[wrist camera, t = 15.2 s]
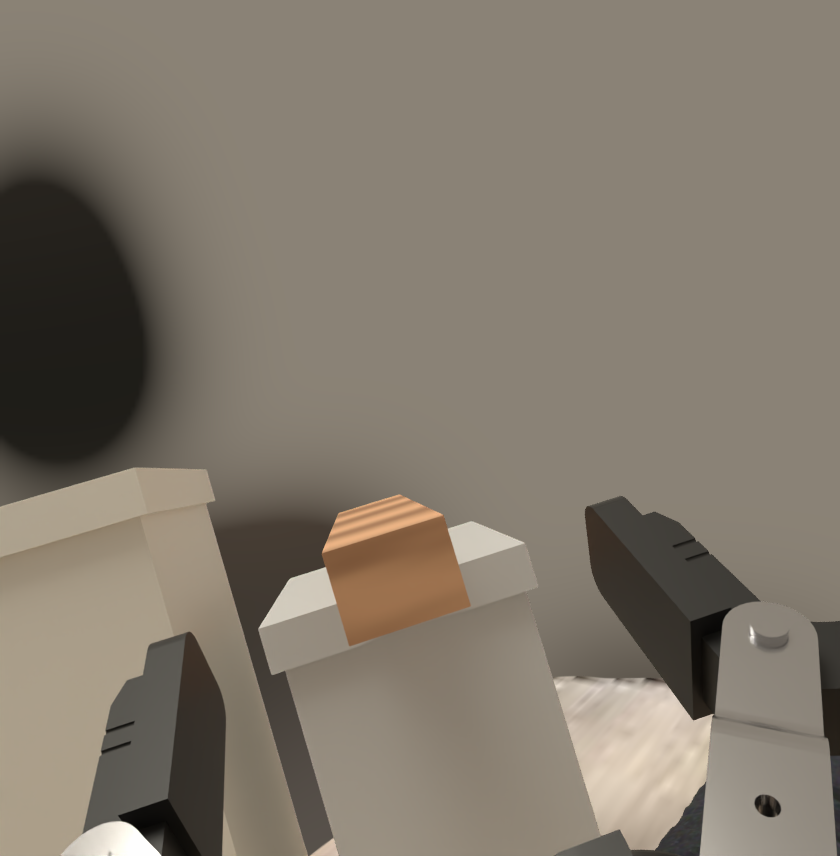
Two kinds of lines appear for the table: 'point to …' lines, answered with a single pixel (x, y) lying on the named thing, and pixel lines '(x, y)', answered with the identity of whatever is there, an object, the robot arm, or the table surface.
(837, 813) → the dark slate chunk
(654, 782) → the table surface
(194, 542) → the stand
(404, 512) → the board
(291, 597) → the block
